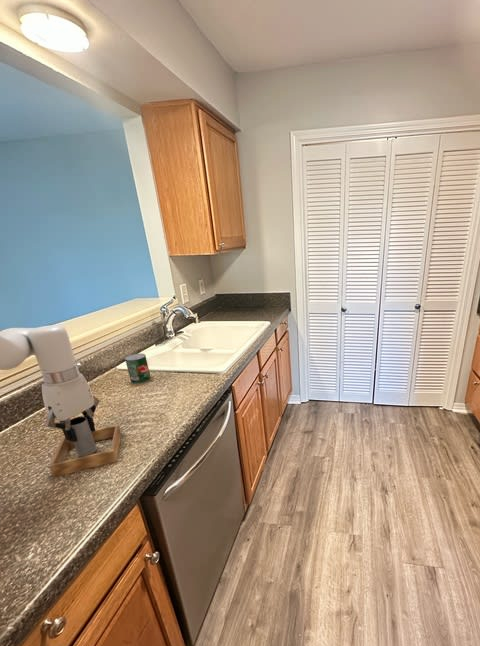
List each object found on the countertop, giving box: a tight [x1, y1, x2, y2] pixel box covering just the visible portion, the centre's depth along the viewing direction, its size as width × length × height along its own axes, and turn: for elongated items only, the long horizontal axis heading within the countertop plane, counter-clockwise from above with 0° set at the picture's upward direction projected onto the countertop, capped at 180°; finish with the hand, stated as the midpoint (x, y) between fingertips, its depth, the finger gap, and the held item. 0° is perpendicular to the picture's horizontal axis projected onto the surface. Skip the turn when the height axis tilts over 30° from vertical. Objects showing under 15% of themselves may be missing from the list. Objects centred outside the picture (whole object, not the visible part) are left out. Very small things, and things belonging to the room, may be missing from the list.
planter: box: [70, 415, 97, 458], centre depth 89 cm, size 4×4×10 cm
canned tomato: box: [124, 353, 152, 385], centre depth 136 cm, size 8×8×11 cm
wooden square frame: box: [48, 424, 122, 478], centre depth 91 cm, size 15×15×4 cm
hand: (81, 434), depth 89 cm, fingers closed on planter, 4 cm apart
